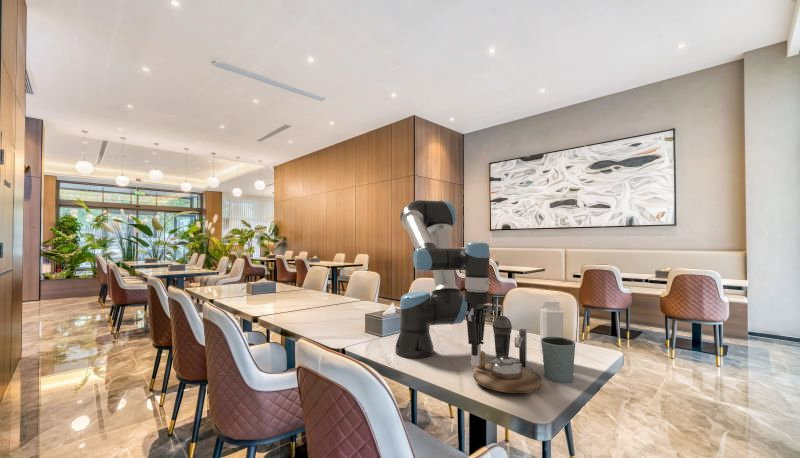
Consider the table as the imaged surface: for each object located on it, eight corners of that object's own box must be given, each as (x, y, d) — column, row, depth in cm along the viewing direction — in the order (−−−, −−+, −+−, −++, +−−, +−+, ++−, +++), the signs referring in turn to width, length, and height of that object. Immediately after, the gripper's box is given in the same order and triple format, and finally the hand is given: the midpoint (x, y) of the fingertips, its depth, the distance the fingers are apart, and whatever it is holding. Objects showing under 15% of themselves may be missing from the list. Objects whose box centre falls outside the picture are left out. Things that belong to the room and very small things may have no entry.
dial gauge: (508, 379, 113) (508, 335, 113) (517, 367, 123) (517, 327, 124) (524, 382, 110) (524, 337, 111) (532, 370, 121) (532, 329, 121)
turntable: (461, 380, 108) (461, 359, 108) (489, 363, 123) (489, 344, 123) (527, 399, 95) (527, 375, 95) (549, 377, 111) (549, 356, 111)
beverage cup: (509, 354, 138) (509, 302, 139) (514, 360, 131) (514, 306, 131) (490, 353, 139) (491, 302, 139) (493, 359, 131) (494, 305, 132)
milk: (540, 359, 132) (539, 300, 133) (555, 359, 132) (555, 300, 133) (547, 365, 126) (547, 303, 127) (564, 365, 126) (563, 303, 127)
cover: (486, 375, 108) (486, 358, 108) (498, 367, 115) (498, 351, 115) (515, 382, 103) (515, 365, 103) (526, 373, 110) (526, 357, 110)
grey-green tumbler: (580, 378, 114) (580, 341, 114) (568, 387, 107) (567, 347, 108) (549, 370, 121) (549, 334, 122) (535, 377, 115) (535, 340, 115)
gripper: (481, 293, 106) (480, 373, 105) (494, 289, 117) (493, 362, 116) (458, 291, 110) (456, 368, 109) (472, 287, 121) (471, 357, 120)
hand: (475, 364), depth 112 cm, fingers closed
